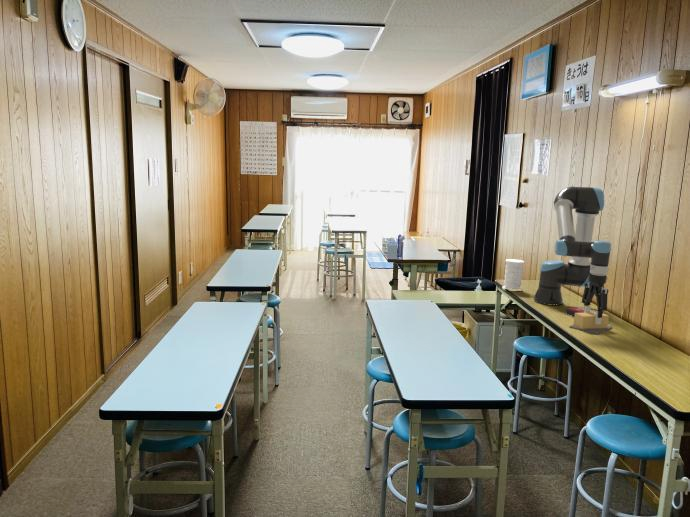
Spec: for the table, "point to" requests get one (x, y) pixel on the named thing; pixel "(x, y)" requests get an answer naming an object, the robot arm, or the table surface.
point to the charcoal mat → (594, 330)
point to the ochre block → (589, 320)
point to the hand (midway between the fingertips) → (591, 321)
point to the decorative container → (513, 274)
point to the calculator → (576, 310)
